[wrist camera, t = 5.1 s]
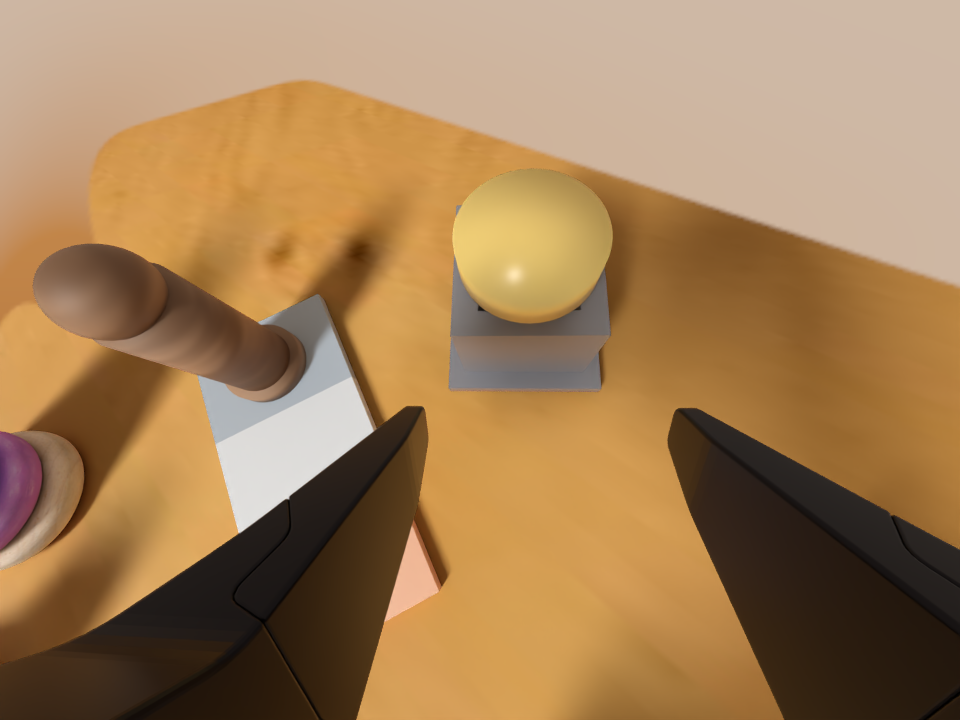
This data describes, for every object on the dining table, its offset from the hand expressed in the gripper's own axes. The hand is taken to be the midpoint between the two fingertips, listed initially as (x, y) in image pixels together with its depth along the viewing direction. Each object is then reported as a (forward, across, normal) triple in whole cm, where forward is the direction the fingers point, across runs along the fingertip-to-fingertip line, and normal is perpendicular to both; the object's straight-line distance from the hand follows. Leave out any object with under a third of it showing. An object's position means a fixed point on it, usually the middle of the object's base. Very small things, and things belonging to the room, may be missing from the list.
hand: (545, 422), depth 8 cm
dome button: (+14, 0, +2) cm, 14 cm away
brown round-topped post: (+13, +16, +6) cm, 21 cm away
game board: (+9, +13, +10) cm, 19 cm away
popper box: (+15, 0, +4) cm, 16 cm away
